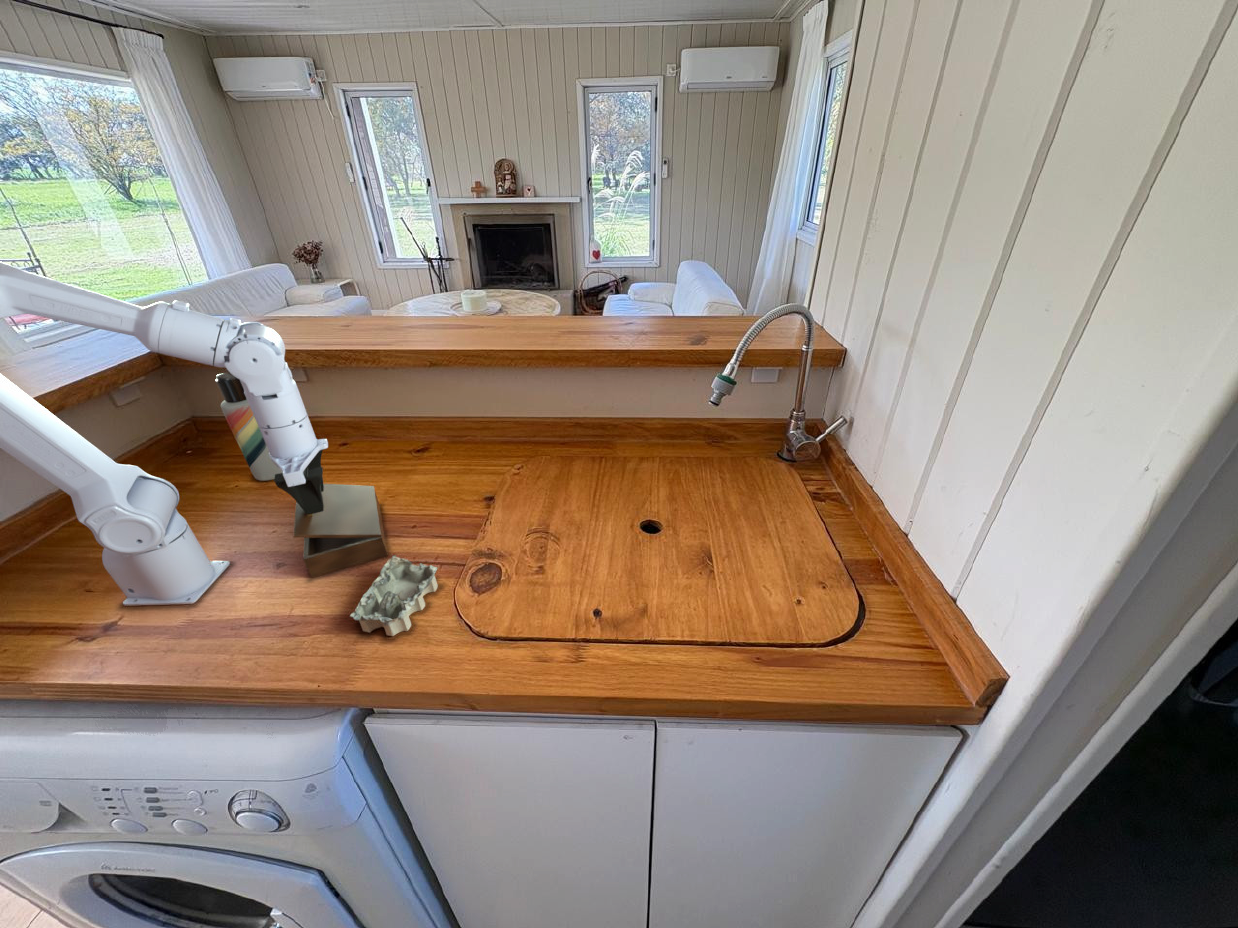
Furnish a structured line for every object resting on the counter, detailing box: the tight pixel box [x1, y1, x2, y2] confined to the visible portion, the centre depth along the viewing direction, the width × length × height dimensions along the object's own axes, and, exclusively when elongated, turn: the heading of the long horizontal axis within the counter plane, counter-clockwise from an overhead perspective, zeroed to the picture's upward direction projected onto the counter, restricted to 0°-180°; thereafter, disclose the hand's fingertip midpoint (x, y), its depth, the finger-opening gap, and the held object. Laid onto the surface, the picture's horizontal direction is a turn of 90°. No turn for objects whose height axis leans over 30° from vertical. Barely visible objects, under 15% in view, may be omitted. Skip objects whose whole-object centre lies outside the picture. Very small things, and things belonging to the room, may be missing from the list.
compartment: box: [302, 488, 389, 579], centre depth 77 cm, size 10×14×4 cm
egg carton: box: [349, 554, 439, 637], centre depth 66 cm, size 11×8×4 cm
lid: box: [292, 483, 381, 539], centre depth 74 cm, size 11×14×4 cm
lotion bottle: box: [215, 371, 283, 482], centre depth 89 cm, size 6×6×20 cm
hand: (315, 501), depth 73 cm, fingers closed on lid, 5 cm apart
